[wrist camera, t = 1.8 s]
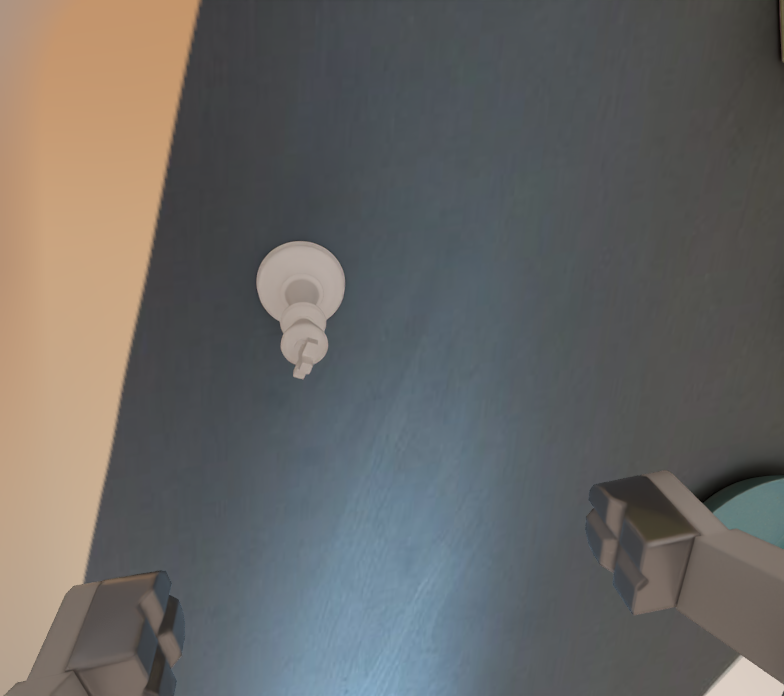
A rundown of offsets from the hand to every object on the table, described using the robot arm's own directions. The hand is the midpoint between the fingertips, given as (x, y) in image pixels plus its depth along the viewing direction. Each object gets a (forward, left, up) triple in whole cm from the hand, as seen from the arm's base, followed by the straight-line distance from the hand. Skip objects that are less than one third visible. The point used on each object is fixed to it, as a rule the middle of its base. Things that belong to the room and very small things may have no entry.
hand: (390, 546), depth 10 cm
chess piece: (-1, -2, -21) cm, 21 cm away
